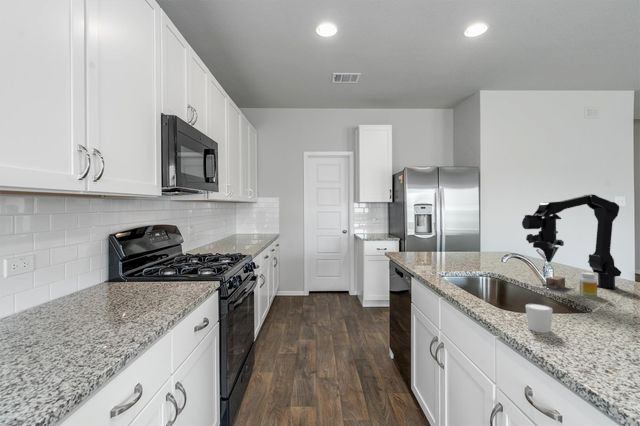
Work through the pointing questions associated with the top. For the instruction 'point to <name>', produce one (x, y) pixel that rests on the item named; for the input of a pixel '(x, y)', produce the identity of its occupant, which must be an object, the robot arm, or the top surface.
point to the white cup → (539, 317)
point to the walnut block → (555, 282)
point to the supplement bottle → (588, 285)
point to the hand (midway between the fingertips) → (548, 262)
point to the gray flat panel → (555, 290)
